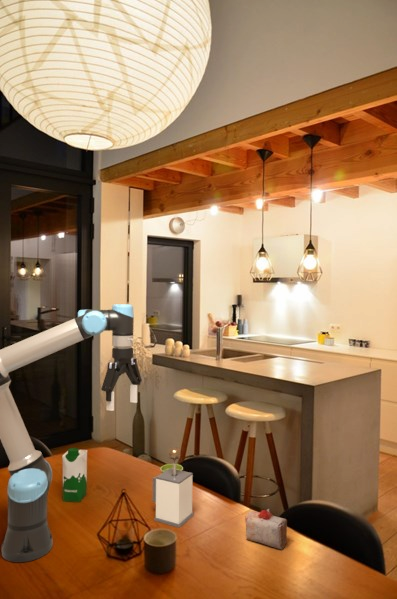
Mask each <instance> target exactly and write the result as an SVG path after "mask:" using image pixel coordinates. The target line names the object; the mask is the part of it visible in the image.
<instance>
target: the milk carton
mask: <svg viewBox="0 0 397 599" xmlns="http://www.w3.org/2000/svg"><path fill="white" fill-rule="evenodd" d="M61 456H62V460H61V461H62V501H63V502H73V503H74V502H75V503H80V502H82V500H83V499H84V498H85V496H86V495H87V486H88V485H87V484H88V482H87V481H88V480H87V479H88V477H87V476H88V472H87V470H88V463H87V462H88V449H79V448H78V447H70V448H68V449H67V451H66V452H65V453H64V454H63V455H61Z"/></svg>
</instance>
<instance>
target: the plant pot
mask: <svg viewBox="0 0 397 599" xmlns="http://www.w3.org/2000/svg"><path fill="white" fill-rule="evenodd" d="M170 468H172V469H173V463H166V464H164V465H162V466H160V471H161V474H162V473H163V472H165V471H166V470H168V469H170ZM176 470H181V471H184V467H183V466H182V465H181V464H179V463H176Z"/></svg>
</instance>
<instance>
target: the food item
mask: <svg viewBox="0 0 397 599" xmlns="http://www.w3.org/2000/svg"><path fill="white" fill-rule="evenodd" d="M244 522H245V530H246V531H245V533H246V534H245V539H246V540H247V541H251V542H256V543H258V544H262V545H265V546H269V547H272V548H275V549H278V550H283V549H284V548H285V546H286V545H287V540H288V539H287V538H288V537H287V535H288V534H287V533H288V532H287V531H288V530H287V528H288V527H287V526H288V520H287V519H286V518H283V517H280V516H275V515H273V513H272V512H271V511H270V508H268V509H266V510H265V509H264V510H263V509H262V510H260V511H255V510H251V511H249V512H248V513H247V514H246V515H245V516H244Z"/></svg>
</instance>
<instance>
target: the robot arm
mask: <svg viewBox="0 0 397 599" xmlns="http://www.w3.org/2000/svg"><path fill="white" fill-rule="evenodd" d="M111 307H112V308H110V309H89V308H87V309H80V310H78V312H77V317H76V318H73V319H70V320H67V321H65V322H63V323H61V324H58V325H56V326H54V327H51V328H49V329H47V330H43V331H42V332H39V333H37V334H35V335H33V336H32V335H31V336H30V337H27V338H25V339H23V340H21V341H18V342H16V343H13V344H12V345H8V346H6V347H3V348H2V349H0V442H1V444H2V447H3V448H4V450H5V453H6V455H7V458H8V460H9V465H8V467H7V470H8V472H9V475H10V478H9V479H8V483H7V484H8V485H7V487H6V488H7V489H6V490H7V527H6V528H7V529H6V532H5V536H4V539H3V541H2V544H1V556H2V558H3V559H4V560H6V561H8V562H11V563H26V562H31V561H35V560H38V559H39V558H40V559H41V558H42V557H44V556H46V554H48V553H50V551H51V550H52V549H53V545H54V544H53V540H54V539H53V535H52V532H51V529H50V527H49V524H48V495H49V490H50V486H51V483H52V480H53V470H52V467H51V464H50V463H49V462H48V460H46V459H45V458H44V456H43V454H42V452H41V450H36V449H35V446H34V443H33V441H32V439H31V437H30V435H29V432H28V430H27V428H26V426H25V423H24V420H23V418H22V416H21V413H20V411H19V409H18V406H17V404H16V402H15V399H14V397H13V394H12V392H11V390H10V388H9V386H10V385H11V382H12V379H11V378H10V375H9V373H11V372H13V371H16V370H18V369H19V368H22V367H25V366H27V365H29V364H31V363H34V362H36V361H38V360H40V359H42V358H45V357H47V356H49V355H51V354H54V353H56V352H58V351H61V350H63V349H65V348H67V347H70V346H72V345H75V344H76V343H79V342H82V341H84V340H85V339H86V340H87V339H89V338H91V337H92V336H93V337H94V336H98V335H100V334H102V333H103V332H105V331H108V332H110V331H111V346H112V349H111V357H112V359H113V360H114V361H113V362H108V363H107V370H106V373H105V375H104V379H103V382H102V386H101V391H103V392H105V401H106V411H108V412H109V411H111V412H113V411H115V391H114V389H115V386H116V385H117V383H118V380H119V379H120V377H121V376H122V375H123V374H126V376H127V378H128V379H129V381H130V383H131V384H130V385H129V388H130V391H129V397H130V398H129V400H130V401H129V403H134V404H137V403H138V389H139V388H138V387H139V386H140V385H141V383H142V376H141V374H140V370H139V367H138V361H137V358H134V348H133V346H134V327H135V326H134V318H135V317H134V306H133V305H132V304H129V303H126V304H125V303H123V304H122V303H118V304H117V303H114V304H113V305H112V306H111Z"/></svg>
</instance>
